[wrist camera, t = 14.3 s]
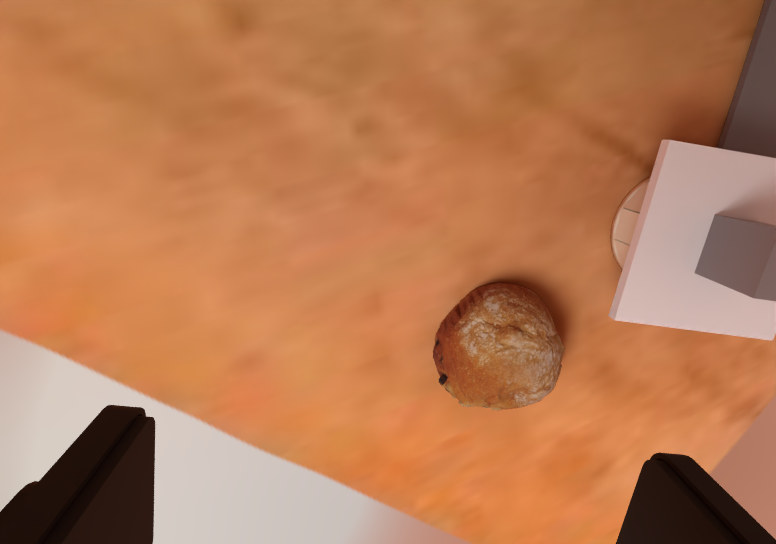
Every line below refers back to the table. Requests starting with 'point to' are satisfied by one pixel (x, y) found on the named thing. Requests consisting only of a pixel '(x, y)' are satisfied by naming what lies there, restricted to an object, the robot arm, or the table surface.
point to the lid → (704, 244)
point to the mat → (755, 94)
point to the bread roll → (498, 348)
